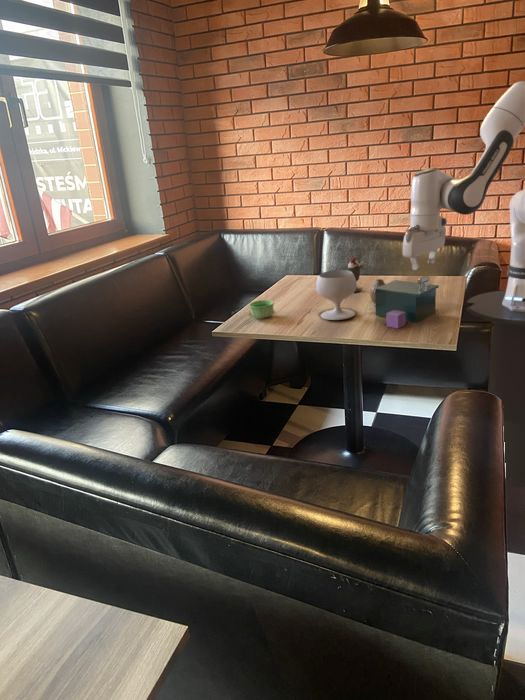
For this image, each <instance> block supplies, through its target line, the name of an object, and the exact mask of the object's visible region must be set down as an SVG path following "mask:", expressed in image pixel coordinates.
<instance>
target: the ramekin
mask: <svg viewBox="0 0 525 700" xmlns="http://www.w3.org/2000/svg"><path fill="white" fill-rule="evenodd" d="M248 305H249V309H250V313H251V316H252V317H253V318H257V319H260V318H262V319H263V318H267V317H270V316H272V315H274V301H273V300H272V299H271V300H269V299H261V300H256V301H255V300H254V301H252V302H250V303H249V304H248Z"/></svg>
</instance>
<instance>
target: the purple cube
mask: <svg viewBox="0 0 525 700" xmlns="http://www.w3.org/2000/svg"><path fill="white" fill-rule="evenodd" d="M385 318H386V319H385V322H386V327H388V328H394V329H400V328H402V327H404V326H406V322H407V321H406V312H403V311H397V310H393V311H391V312H388V313H386V317H385Z"/></svg>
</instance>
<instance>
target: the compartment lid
mask: <svg viewBox="0 0 525 700" xmlns="http://www.w3.org/2000/svg"><path fill="white" fill-rule="evenodd" d="M430 280H431V277H430V275H424V276H423V277H419V278H418V279H417V281H415V282H414V281H406V280H399V279H396V280H392V281H390V282H387V283H385V285H383V286H380V287H378V288H375V291H381V292H388V293H395V294H402V295H409V296H417V297H419V296H422V295H424V294H426V293H428V292H430V291H432V290H435V289H436V290H437V289H439V288H440V285H438V284H430V283H429V281H430Z"/></svg>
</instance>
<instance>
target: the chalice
mask: <svg viewBox="0 0 525 700" xmlns="http://www.w3.org/2000/svg"><path fill="white" fill-rule="evenodd" d="M356 288H358V285H357V282H356V279H355V276H354V274H353V273H352V272H351V271H348V270H347V269H346V270H344V269H339V270H338V269H336V270H335V269H334V270H328V271H324V272H320V273H319V274H318V276H317V279H316V283H315V290H316V292H317V294H318V295H319V296H320V297H322V298H324V299H326V300H328V301H330V302H332V303H333V305H334V309H330V310H326V311H324V312H322V313H321V314H320V318H322V319H323V320H330V321H340V320H347V319H350V318H353V317H354V316H356V312H355V310H352V309H348V308H347V309H346V308H341V303H342V302H343V301H344V300H345V299H347V298H348V297H350V296H352V295H353V294H354V293H356V292H355V290H356Z"/></svg>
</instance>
